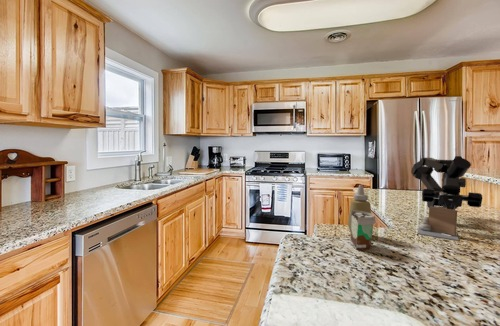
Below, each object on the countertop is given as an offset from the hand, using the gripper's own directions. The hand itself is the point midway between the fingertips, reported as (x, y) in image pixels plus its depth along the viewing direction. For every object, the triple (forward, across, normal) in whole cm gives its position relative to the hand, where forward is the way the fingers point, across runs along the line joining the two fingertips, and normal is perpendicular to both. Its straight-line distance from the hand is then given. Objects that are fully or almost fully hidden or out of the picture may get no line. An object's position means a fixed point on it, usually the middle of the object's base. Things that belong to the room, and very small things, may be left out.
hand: (450, 214), depth 99 cm
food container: (+32, -22, -22) cm, 45 cm away
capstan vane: (+7, -4, +2) cm, 8 cm away
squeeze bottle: (+24, -26, -14) cm, 38 cm away
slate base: (+7, -4, +3) cm, 9 cm away
